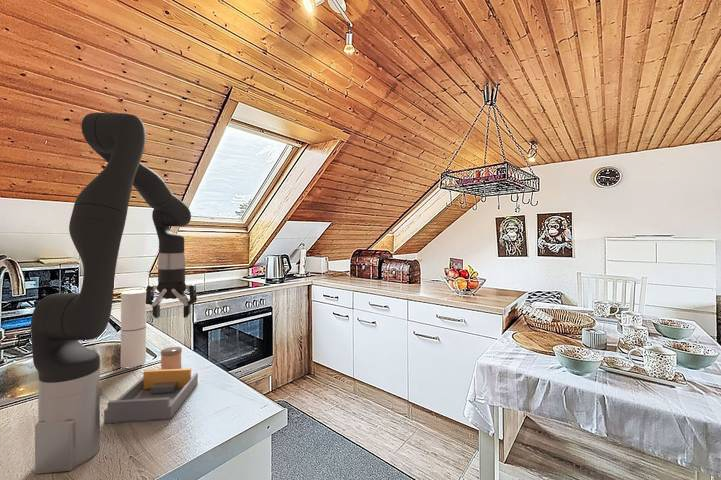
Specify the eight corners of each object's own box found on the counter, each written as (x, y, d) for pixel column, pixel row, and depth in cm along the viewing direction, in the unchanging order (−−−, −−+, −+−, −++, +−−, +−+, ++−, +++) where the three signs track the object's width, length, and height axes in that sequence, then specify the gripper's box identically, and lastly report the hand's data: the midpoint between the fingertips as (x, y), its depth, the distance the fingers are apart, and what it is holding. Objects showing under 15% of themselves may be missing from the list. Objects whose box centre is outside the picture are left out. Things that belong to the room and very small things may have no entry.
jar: (177, 378, 101) (177, 353, 101) (157, 379, 100) (157, 353, 100) (184, 370, 107) (184, 346, 107) (165, 371, 106) (165, 347, 106)
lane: (170, 419, 79) (171, 399, 79) (104, 423, 77) (104, 402, 77) (197, 383, 98) (197, 367, 98) (144, 386, 96) (144, 369, 96)
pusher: (185, 391, 92) (185, 374, 92) (137, 394, 90) (138, 376, 90) (191, 384, 96) (191, 368, 96) (145, 387, 94) (145, 370, 94)
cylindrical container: (132, 369, 107) (133, 294, 106) (115, 367, 108) (115, 293, 108) (150, 361, 114) (151, 290, 113) (134, 359, 115) (134, 289, 115)
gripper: (141, 268, 98) (141, 321, 99) (191, 268, 100) (191, 320, 101) (153, 265, 106) (153, 314, 106) (199, 265, 108) (199, 313, 108)
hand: (171, 317), depth 103 cm, fingers open, 8 cm apart
